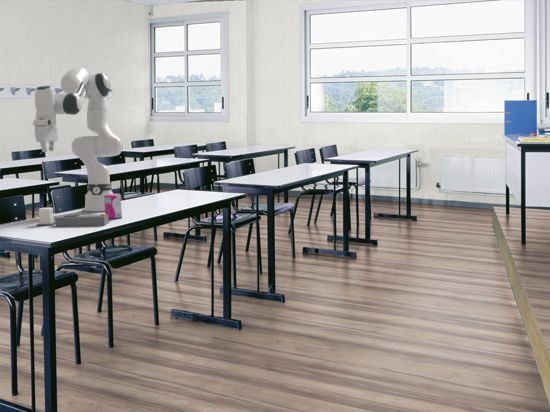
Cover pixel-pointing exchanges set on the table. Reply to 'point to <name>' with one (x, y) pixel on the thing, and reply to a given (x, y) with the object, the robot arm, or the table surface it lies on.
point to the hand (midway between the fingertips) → (48, 151)
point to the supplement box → (113, 206)
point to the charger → (46, 216)
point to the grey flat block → (82, 220)
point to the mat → (45, 224)
